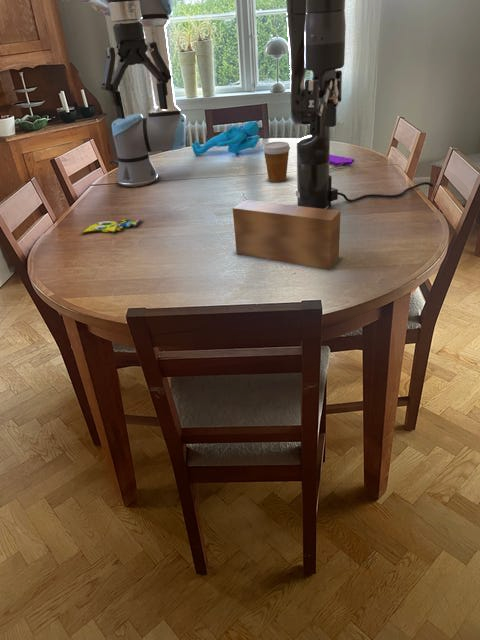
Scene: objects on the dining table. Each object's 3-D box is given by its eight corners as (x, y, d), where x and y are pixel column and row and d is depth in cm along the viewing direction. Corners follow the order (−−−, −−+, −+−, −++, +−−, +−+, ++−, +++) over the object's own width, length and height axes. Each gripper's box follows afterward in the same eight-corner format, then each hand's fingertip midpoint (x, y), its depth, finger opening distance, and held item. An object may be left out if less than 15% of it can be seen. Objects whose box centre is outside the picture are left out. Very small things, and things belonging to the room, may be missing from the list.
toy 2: (197, 135, 216) (259, 115, 206) (205, 158, 221) (266, 140, 211) (186, 144, 203) (252, 124, 192) (195, 169, 208) (260, 150, 198)
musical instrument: (342, 175, 173) (362, 153, 185) (341, 169, 172) (361, 148, 184) (283, 174, 186) (305, 153, 198) (282, 169, 184) (305, 148, 196)
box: (236, 253, 123) (232, 208, 116) (247, 244, 127) (244, 199, 121) (330, 269, 112) (331, 220, 105) (338, 258, 116) (340, 210, 109)
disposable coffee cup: (260, 182, 170) (258, 147, 164) (269, 174, 177) (267, 141, 171) (286, 183, 167) (285, 148, 160) (294, 175, 174) (293, 141, 168)
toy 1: (130, 230, 139) (81, 231, 142) (130, 232, 140) (82, 234, 142) (140, 217, 148) (94, 218, 150) (141, 219, 148) (95, 221, 151)
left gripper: (88, 26, 111) (109, 123, 122) (176, 17, 124) (188, 106, 135) (74, 27, 116) (95, 120, 127) (161, 19, 128) (173, 104, 140)
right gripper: (330, 43, 83) (328, 140, 92) (356, 36, 94) (352, 124, 102) (290, 45, 87) (292, 138, 96) (319, 38, 97) (318, 123, 106)
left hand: (143, 113), depth 131 cm, fingers open, 13 cm apart
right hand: (323, 130), depth 99 cm, fingers open, 8 cm apart
